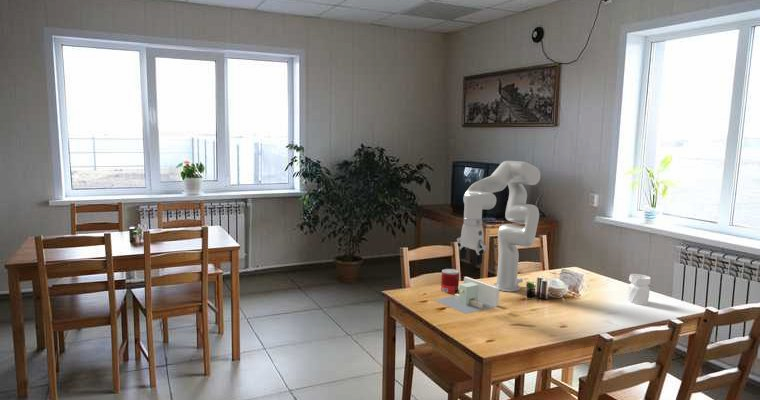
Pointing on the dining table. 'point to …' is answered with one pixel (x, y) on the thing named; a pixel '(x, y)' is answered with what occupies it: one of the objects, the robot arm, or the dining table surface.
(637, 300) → the white lidded jar
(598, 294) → the dining table surface
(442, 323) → the dining table surface
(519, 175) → the robot arm
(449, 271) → the canned food
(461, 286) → the cabinet block
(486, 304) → the cleat board
